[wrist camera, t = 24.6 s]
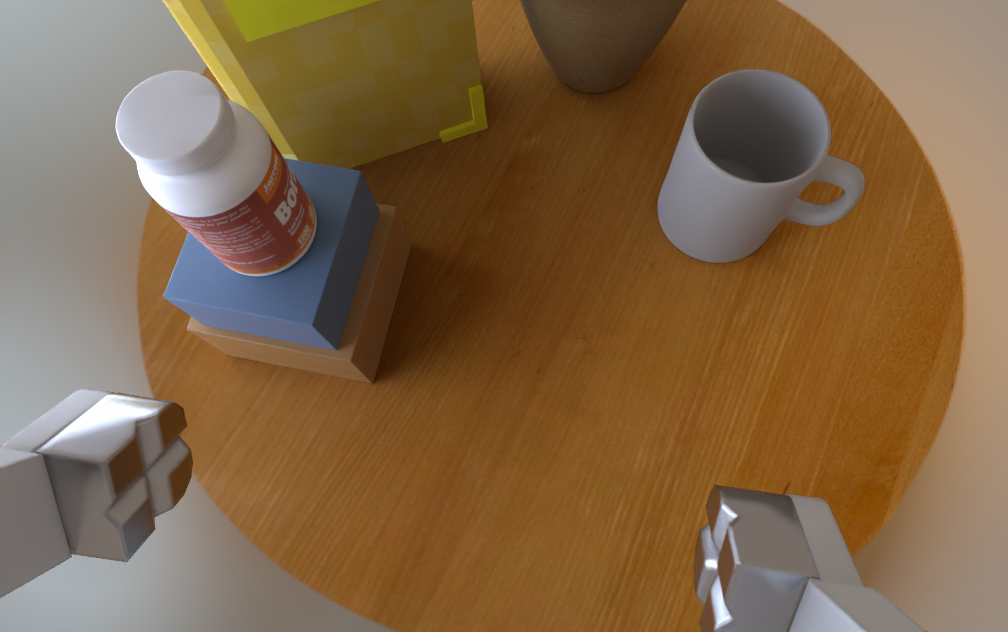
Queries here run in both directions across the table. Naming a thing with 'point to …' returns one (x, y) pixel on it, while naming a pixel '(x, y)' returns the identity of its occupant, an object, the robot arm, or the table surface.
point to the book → (344, 71)
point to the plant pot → (599, 37)
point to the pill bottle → (217, 172)
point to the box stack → (306, 286)
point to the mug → (750, 166)
